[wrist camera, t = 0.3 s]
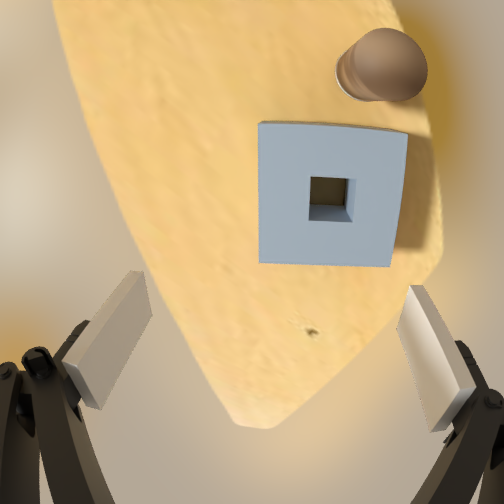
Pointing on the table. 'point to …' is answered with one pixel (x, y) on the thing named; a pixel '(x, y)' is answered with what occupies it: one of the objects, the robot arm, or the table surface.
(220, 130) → the table surface
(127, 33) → the table surface
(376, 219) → the seat block
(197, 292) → the table surface
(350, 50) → the peg
